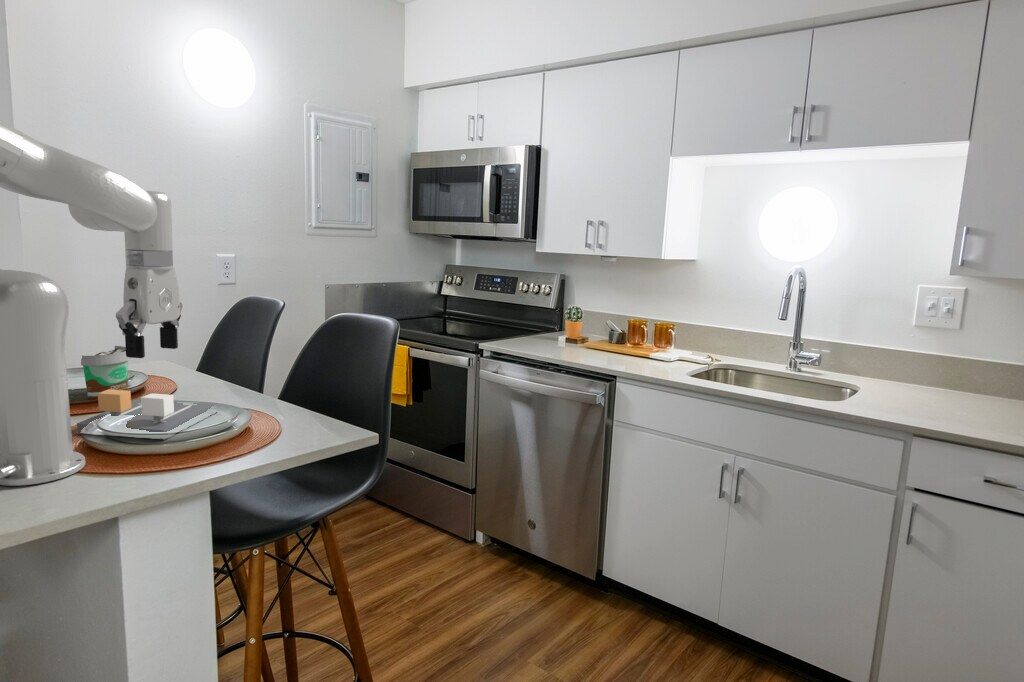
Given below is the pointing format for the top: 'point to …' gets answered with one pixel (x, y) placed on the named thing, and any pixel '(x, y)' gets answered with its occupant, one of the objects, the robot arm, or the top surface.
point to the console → (148, 423)
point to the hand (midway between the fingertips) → (152, 352)
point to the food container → (106, 371)
